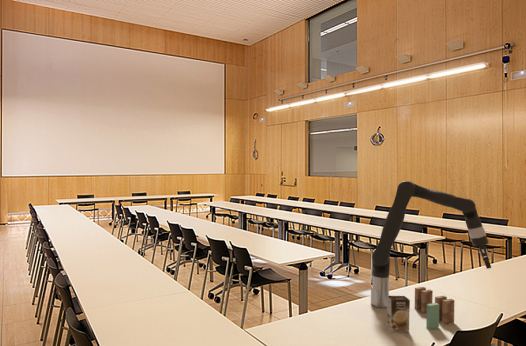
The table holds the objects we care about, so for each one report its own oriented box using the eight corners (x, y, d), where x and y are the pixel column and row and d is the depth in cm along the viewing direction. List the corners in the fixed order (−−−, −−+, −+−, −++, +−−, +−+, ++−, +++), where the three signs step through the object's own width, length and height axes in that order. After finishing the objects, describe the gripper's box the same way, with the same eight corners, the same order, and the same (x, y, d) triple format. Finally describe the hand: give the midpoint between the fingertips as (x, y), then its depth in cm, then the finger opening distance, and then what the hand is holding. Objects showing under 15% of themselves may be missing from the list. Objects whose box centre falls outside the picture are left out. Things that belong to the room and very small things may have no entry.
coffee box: (391, 332, 181) (391, 300, 180) (386, 326, 187) (386, 295, 187) (409, 332, 181) (410, 299, 181) (404, 326, 188) (404, 295, 187)
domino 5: (445, 324, 190) (445, 301, 190) (442, 322, 192) (442, 300, 192) (454, 322, 192) (454, 300, 192) (451, 321, 194) (451, 298, 194)
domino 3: (429, 329, 184) (429, 305, 184) (426, 327, 186) (426, 304, 186) (438, 327, 186) (439, 304, 186) (435, 326, 188) (436, 302, 188)
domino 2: (423, 313, 204) (423, 291, 204) (421, 312, 206) (421, 290, 206) (432, 312, 206) (432, 290, 206) (429, 310, 208) (429, 289, 208)
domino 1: (417, 310, 209) (417, 289, 209) (414, 308, 211) (414, 287, 211) (425, 308, 211) (425, 287, 211) (423, 307, 213) (423, 286, 213)
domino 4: (437, 320, 195) (437, 298, 195) (434, 319, 197) (435, 296, 196) (446, 319, 197) (446, 296, 196) (443, 317, 199) (443, 295, 198)
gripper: (469, 235, 202) (479, 264, 200) (470, 239, 189) (481, 270, 187) (484, 232, 199) (495, 261, 197) (487, 236, 186) (497, 268, 184)
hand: (488, 266), depth 192 cm, fingers open, 8 cm apart
